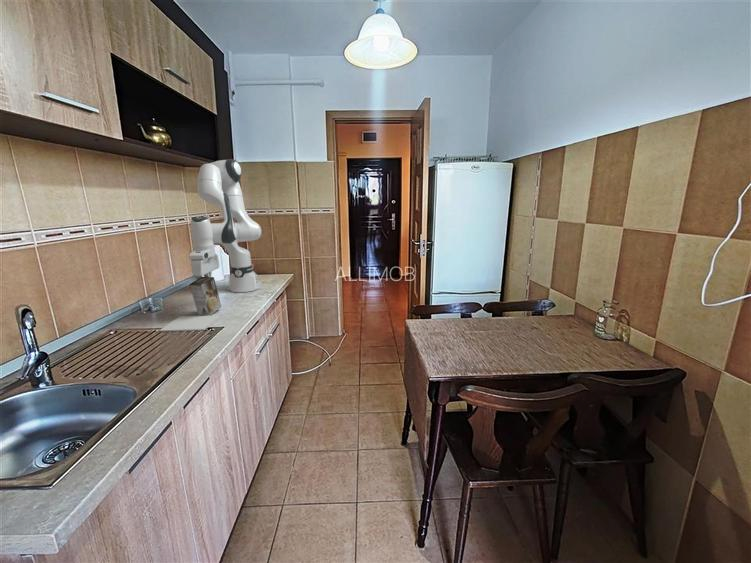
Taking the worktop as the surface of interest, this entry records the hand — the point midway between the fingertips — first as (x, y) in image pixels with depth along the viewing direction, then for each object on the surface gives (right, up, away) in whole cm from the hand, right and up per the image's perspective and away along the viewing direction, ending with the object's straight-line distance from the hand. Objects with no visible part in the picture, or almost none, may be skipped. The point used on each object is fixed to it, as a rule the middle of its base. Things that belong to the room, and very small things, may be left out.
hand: (208, 281), depth 159 cm
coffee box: (+1, -14, 0) cm, 14 cm away
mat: (-1, -18, -13) cm, 23 cm away
